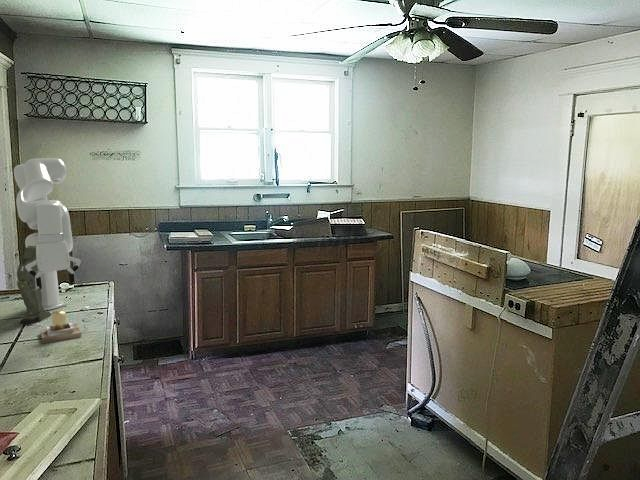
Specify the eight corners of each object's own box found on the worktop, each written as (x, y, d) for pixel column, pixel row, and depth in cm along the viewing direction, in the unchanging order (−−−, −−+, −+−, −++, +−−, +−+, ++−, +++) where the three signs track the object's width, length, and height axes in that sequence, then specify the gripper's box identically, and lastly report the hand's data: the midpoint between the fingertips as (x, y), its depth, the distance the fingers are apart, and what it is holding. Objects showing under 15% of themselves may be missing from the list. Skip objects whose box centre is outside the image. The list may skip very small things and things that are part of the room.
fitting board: (40, 334, 184) (39, 326, 183) (77, 327, 190) (76, 320, 190) (43, 343, 175) (42, 335, 174) (81, 336, 181) (80, 328, 181)
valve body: (52, 330, 183) (51, 311, 182) (66, 328, 185) (64, 309, 184) (54, 334, 179) (52, 315, 178) (67, 331, 182) (66, 312, 180)
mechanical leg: (25, 325, 190) (31, 245, 192) (8, 324, 192) (15, 244, 194) (51, 322, 204) (57, 247, 206) (36, 321, 205) (41, 246, 207)
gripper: (77, 234, 184) (81, 280, 187) (21, 239, 175) (27, 287, 178) (80, 237, 178) (84, 285, 181) (22, 242, 169) (28, 292, 172)
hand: (55, 286), depth 179 cm, fingers open, 9 cm apart
